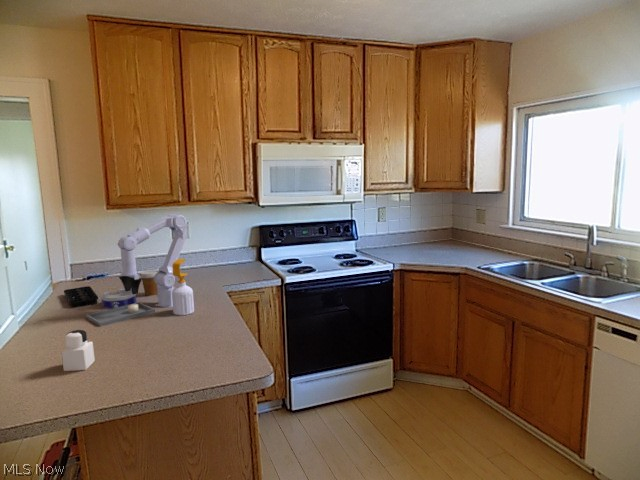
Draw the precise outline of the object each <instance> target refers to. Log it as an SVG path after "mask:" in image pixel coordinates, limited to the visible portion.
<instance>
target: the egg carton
mask: <svg viewBox="0 0 640 480" xmlns="http://www.w3.org/2000/svg"><path fill="white" fill-rule="evenodd" d="M63 293H64V295H65V297H66V299H67V301H68V302H67V303H69V305H70V308H71V309H76V308H81V307H83V306H93V305H96V304H98V299H99V296H98V295H97V293H96V292H95V291H94V289H93V288H92V287H91V286H89V285H87V286H86V285H85V286H80V287H75V288H68V289H67V288H66V289H64V290H63Z"/></svg>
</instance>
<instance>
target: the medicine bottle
mask: <svg viewBox="0 0 640 480" xmlns="http://www.w3.org/2000/svg"><path fill="white" fill-rule="evenodd" d="M64 336H65V345H66V346H65V348H63V349H62V350H61V361H62V367H63V371H64V372H71V371H72V372H73V371H77V372H78V371H86V370H87V369H88V368H89V367H90V366H91V365H92V364H93V363H94V362H95V359H96V358H95V350H94V343H93V341H88V335H87V331H85V330H83V329H75V330H72V331H69V332H67V333H66V334H65V335H64Z"/></svg>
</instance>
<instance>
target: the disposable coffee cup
mask: <svg viewBox="0 0 640 480" xmlns="http://www.w3.org/2000/svg"><path fill="white" fill-rule="evenodd" d="M158 271H159V270H155V269H154V270H153V269H151V270H145V271H141V273H140V274H139V277H140V278H142V280H141V283H142V287H143V290H144V294H145V297H150V296H158V293H157V284H156V283H155V282H154V276H155V274H156V273H157V272H158Z"/></svg>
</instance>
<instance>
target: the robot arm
mask: <svg viewBox="0 0 640 480" xmlns="http://www.w3.org/2000/svg"><path fill="white" fill-rule="evenodd" d="M187 225H188V221H187V219H186V217H185V216H184V215H182V214H173V213H169V214H167V215H165V216H163V217H162V218H160V219H158V220H157V221H155V222H154V223H152V224H151V225H149V226H147V227H146V228H145V227H137V228H136V230H135V231H133V232H129V233H127V236H126V235H124V236H122V237H120V238H119V240H118V242H117V245H118V248H120V257H121V268H122V270H120V273H119V274H120V276H119V277H118V278H119V280H120V281H121V283H122V286H123V289H125V291H131V290H132V294H133V295H134V294H136V295H137V294H139V291H140V290H139V289H140V285H141V283H142V278H141V277H140V274H139V273H138V272H137V261H136V249H135V248H137V246H138V245H139V244H141V243H143V242H145V241H146V240H148V239H149V238H150V236H151V235H152V234H154V233H155V232H158V231H159V230H161V229H163V228H169V229H170V230H171V231H172V233H173V235H174V236H173V238H172V241H171V244H170V246H169V249H168V252H167V255H166V257H165V260H164V262H163V265H162V266H161V267H160V268H158V270H157V271H158V272H157V273H156V274H155V276H154V282H155V283H156V284H157V293H158V294H157V301H158V303H156V304H154V306H155V307H162V308H163V307H164V308H171V307H172V308H173V301H172V291H173V290H174V289H175V288H176V287H175V286H174V285H175V282H176V276H174V275H173V268H172V265H173V263H174V262H175V261H177V260H178V259H180V255H181V253H182V250H183V247H184V244H185V242H186V238H187V235H188V230H187Z"/></svg>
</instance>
